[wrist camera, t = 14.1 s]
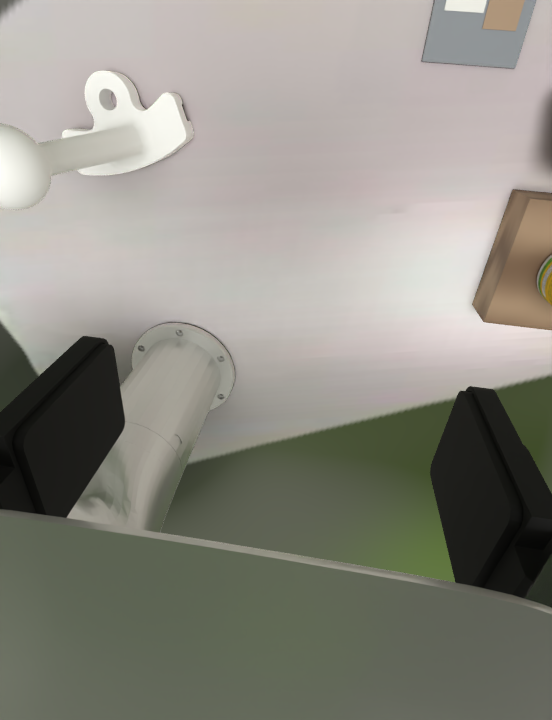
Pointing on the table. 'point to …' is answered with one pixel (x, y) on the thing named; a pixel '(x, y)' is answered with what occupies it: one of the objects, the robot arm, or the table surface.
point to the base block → (518, 264)
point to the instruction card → (477, 32)
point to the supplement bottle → (545, 280)
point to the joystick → (93, 141)
